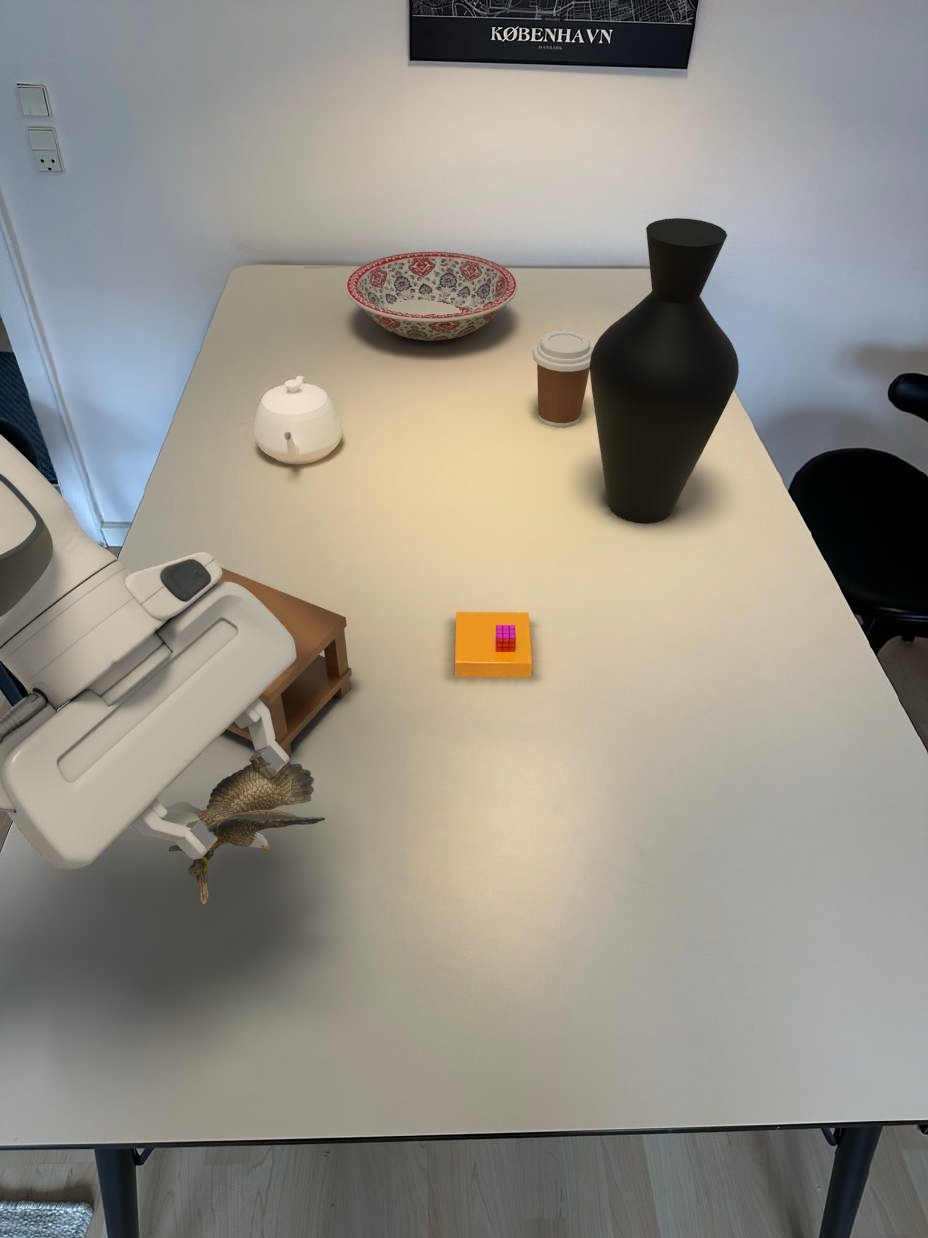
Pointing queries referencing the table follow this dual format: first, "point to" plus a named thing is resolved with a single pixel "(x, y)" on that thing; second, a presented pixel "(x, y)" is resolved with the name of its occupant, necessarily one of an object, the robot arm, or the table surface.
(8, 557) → the robot arm
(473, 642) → the orange block
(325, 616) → the shelf
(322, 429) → the teapot
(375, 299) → the ceramic bowl
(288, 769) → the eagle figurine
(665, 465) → the vase
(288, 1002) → the table surface
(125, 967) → the table surface
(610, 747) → the table surface
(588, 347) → the coffee cup
